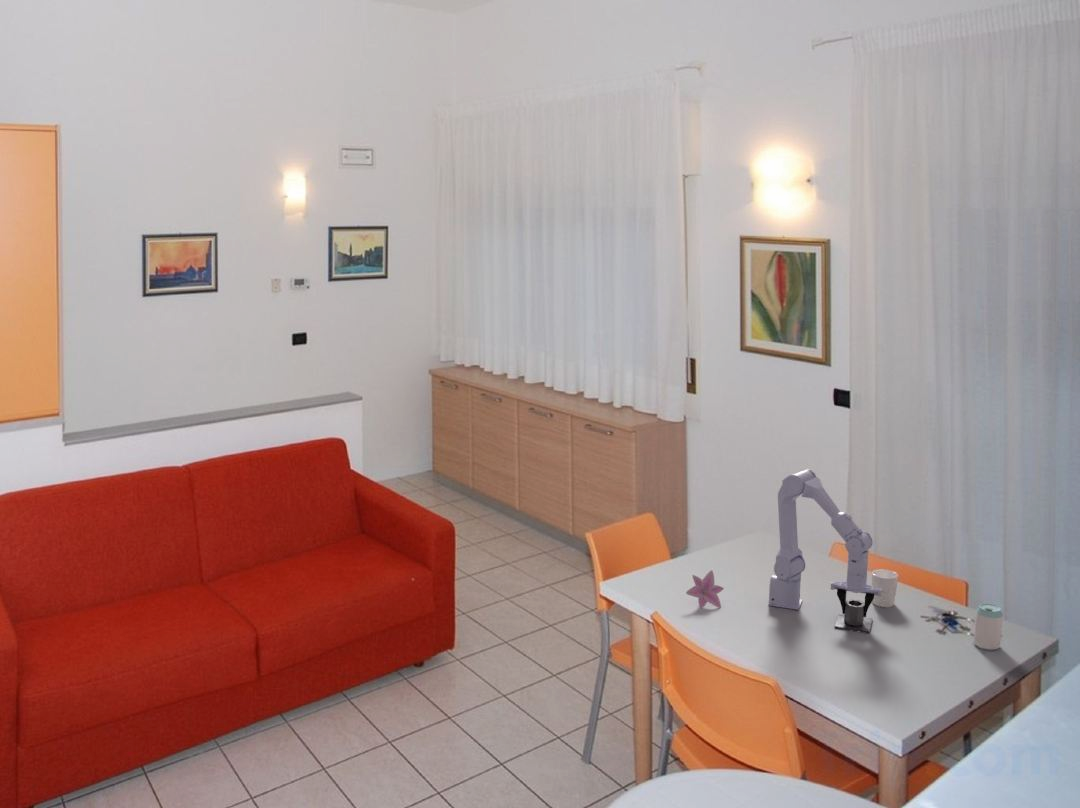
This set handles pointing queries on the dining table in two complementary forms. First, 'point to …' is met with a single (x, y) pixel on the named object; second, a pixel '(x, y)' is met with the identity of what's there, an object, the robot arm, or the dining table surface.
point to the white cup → (885, 587)
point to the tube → (854, 612)
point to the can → (988, 627)
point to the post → (862, 628)
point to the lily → (705, 590)
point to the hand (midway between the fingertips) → (854, 614)
